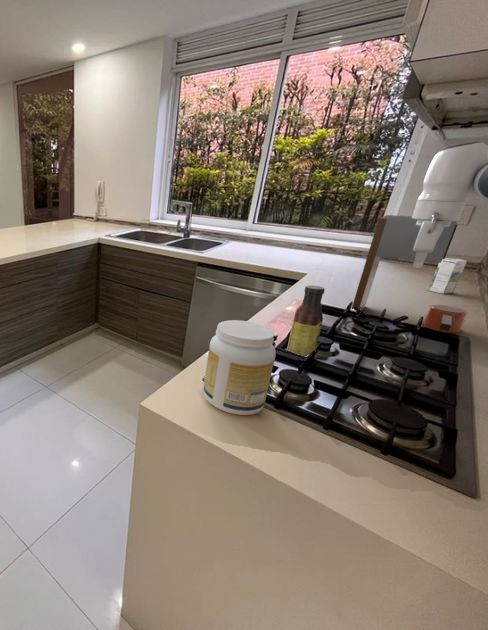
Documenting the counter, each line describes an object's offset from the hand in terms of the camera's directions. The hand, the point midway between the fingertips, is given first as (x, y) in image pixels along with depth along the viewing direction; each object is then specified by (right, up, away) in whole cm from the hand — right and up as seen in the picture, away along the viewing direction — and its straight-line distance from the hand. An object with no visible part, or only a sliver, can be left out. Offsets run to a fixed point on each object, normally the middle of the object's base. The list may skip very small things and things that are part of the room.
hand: (418, 264), depth 93 cm
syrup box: (+67, -4, +55) cm, 86 cm away
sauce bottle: (-34, -26, -1) cm, 42 cm away
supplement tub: (-61, -33, -19) cm, 71 cm away
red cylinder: (+21, -19, +14) cm, 32 cm away
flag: (+17, -15, +27) cm, 35 cm away
